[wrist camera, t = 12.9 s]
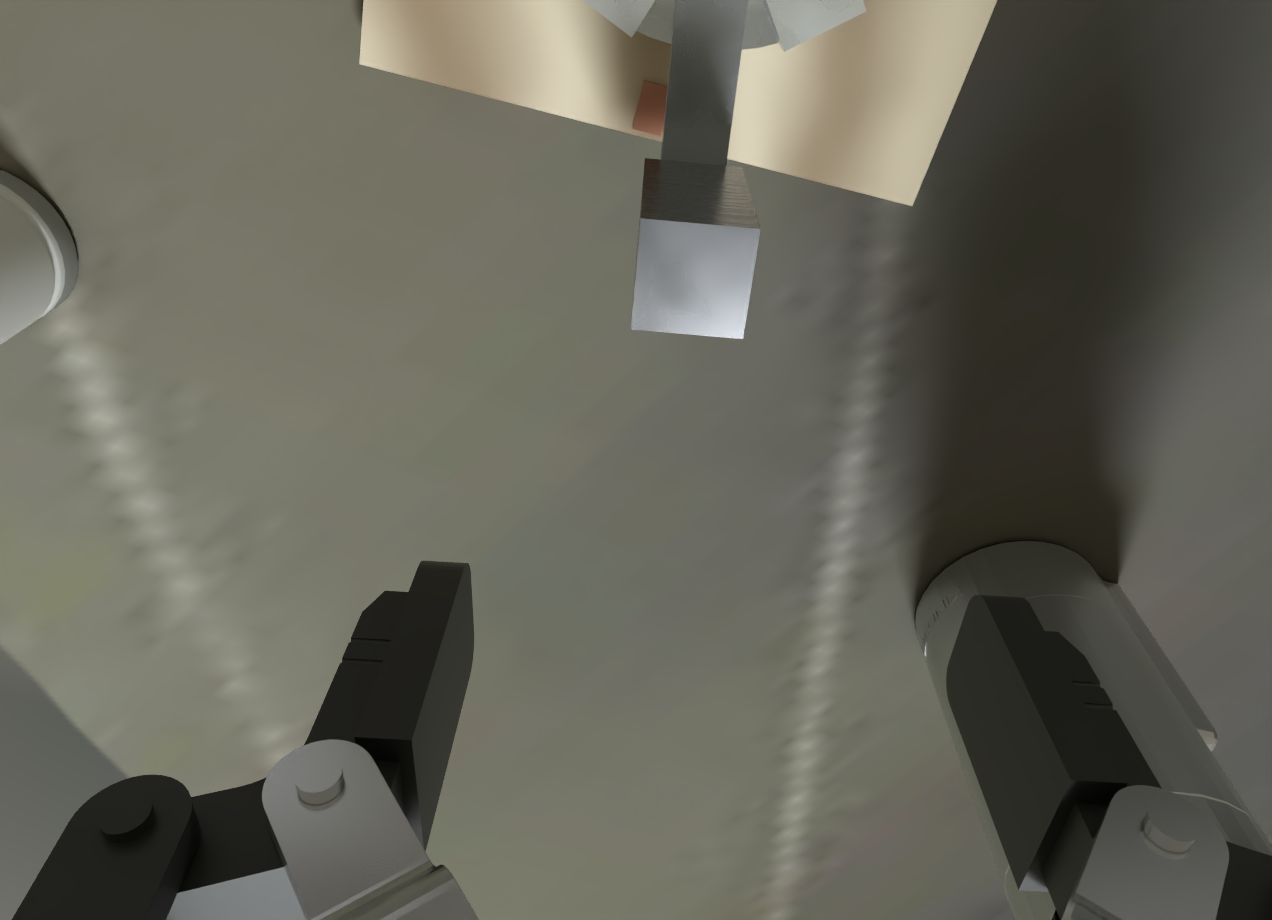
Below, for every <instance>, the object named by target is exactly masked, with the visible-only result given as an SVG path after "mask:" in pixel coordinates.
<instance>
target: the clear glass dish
mask: <svg viewBox="0 0 1272 920" xmlns="http://www.w3.org/2000/svg"><path fill="white" fill-rule="evenodd" d="M583 1H584V2H586V3H587V4H588V5H590V6H591V7H592V8H594V9H595V10H596V11H598V12H599V13H600V14H601V15H603V16H604V17H605V18H607V19H608V20H609V21H611V22H612V23H613V24H615V25H616V26H617V27H618V28H620V29H621V30H622V31H624V32H625V33H626V34H628V35H629V36H630V37H632V36H633V35H634V33H635V32H636V31H638V32H640V33H642V34H644V35H646V36H648V37H651V38H654V39H657V40H660V41H663V42H666V43H669V44H671V53H670V64H669V75H668V85H667V96H666V107H665V117H664V128H663V139H662V149H661V160H658V159H647V158H645V164H644V176H643V188H642V200H641V212H640V223H639V235H638V247H637V260H636V273H635V286H634V299H633V312H632V325H631V329H634V330H645V331H657V332H668V333H680V334H692V335H703V336H715V337H726V338H738V339H743V335H744V329H745V323H746V316H747V310H748V304H749V298H750V291H751V285H752V279H753V273H754V267H755V260H756V254H757V248H758V242H759V235H760V225H759V222H758V219H757V215H756V212H755V208H754V205H753V202H752V198H751V195H750V191H749V188H748V185H747V181H746V178H745V174H744V171H743V167H735V166H726V164H727V156H728V149H729V141H730V134H731V126H732V119H733V111H734V104H735V96H736V89H737V81H738V74H739V67H740V59H741V52H742V50H745V49H753V48H761V47H765V46H769V45H773V44H776V43H778V45H779V46H780V47H781V49H782V50H783V51H784V52H785V51H787V50H789V49H791V48H793V47H795V46H797V45H799V44H801V43H803V42H805V41H807V40H809V39H811V38H813V37H815V36H818V35H820V34H822V33H824V32H826V31H828V30H830V29H832V28H834V27H836V26H838V25H840V24H842V23H844V22H846V21H848V20H850V19H852V18H854V17H856V16H858V15H860V14H862V13H864V12H866V8H865V5H864V2H863V0H583Z"/></svg>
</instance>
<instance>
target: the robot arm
mask: <svg viewBox="0 0 1272 920" xmlns="http://www.w3.org/2000/svg"><path fill="white" fill-rule="evenodd" d="M915 626H916V632H917V637H918V640H919V643H920V646H921V649H922V652H923V654H924V657H925V660H926V663H927V666H928V669H929V672H930V675H931V678H932V681H933V684H934V686H935V689H936V693H937V696H938V699H939V702H940V705H941V708H942V711H943V713H944V716H945V719H946V722H947V725H948V728H949V731H950V734H951V737H952V739H953V742H954V745H955V748H956V751H957V754H958V757H959V760H960V763H961V765H962V768H963V771H964V774H965V777H966V780H967V783H968V786H969V789H970V791H971V794H972V797H973V800H974V803H975V806H976V809H977V812H978V815H979V817H980V820H981V823H982V826H983V829H984V832H985V835H986V838H987V841H988V843H989V846H990V849H991V852H992V855H993V858H994V861H995V864H996V867H997V869H998V872H999V875H1000V878H1001V881H1002V884H1003V887H1004V890H1005V893H1006V895H1007V898H1008V901H1009V903H1010V906H1011V909H1012V912H1013V915H1014V918H1015V920H1272V845H1271V844H1270V842H1269V841H1268V839H1267V837H1266V836H1265V834H1264V833H1263V831H1262V830H1261V828H1260V827H1259V825H1258V824H1257V823H1256V821H1255V819H1254V818H1253V816H1252V815H1251V813H1250V812H1249V810H1248V809H1247V807H1246V805H1245V804H1244V802H1243V801H1242V799H1241V798H1240V796H1239V795H1238V793H1237V791H1236V790H1235V788H1234V787H1233V785H1232V784H1231V782H1230V780H1229V779H1228V777H1227V776H1226V774H1225V773H1224V771H1223V770H1222V768H1221V766H1220V765H1219V763H1218V762H1217V760H1216V759H1215V757H1214V756H1213V754H1212V752H1211V751H1212V750H1213V749H1214V747H1215V746H1216V744H1217V740H1218V739H1217V733H1216V731H1215V729H1214V727H1213V726H1212V724H1211V723H1210V721H1209V720H1208V718H1207V717H1206V715H1205V714H1204V712H1203V711H1202V709H1201V708H1200V706H1199V705H1198V703H1197V702H1196V700H1195V699H1194V697H1193V696H1192V694H1191V693H1190V691H1189V690H1188V688H1187V687H1186V685H1185V684H1184V682H1183V681H1182V679H1181V678H1180V676H1179V675H1178V673H1177V672H1176V670H1175V669H1174V667H1173V666H1172V664H1171V663H1170V661H1169V660H1168V658H1167V657H1166V655H1165V654H1164V652H1163V651H1162V649H1161V647H1160V646H1159V644H1158V643H1157V641H1156V640H1155V638H1154V637H1153V635H1152V634H1151V632H1150V631H1149V629H1148V628H1147V626H1146V625H1145V623H1144V622H1143V620H1142V619H1141V617H1140V616H1139V614H1138V613H1137V611H1136V610H1135V608H1134V607H1133V605H1132V604H1131V602H1130V601H1129V599H1128V598H1127V596H1126V595H1125V593H1124V592H1123V590H1122V589H1121V587H1120V586H1119V585H1118V584H1115V583H1110V582H1106V581H1104V580H1102V579H1101V578H1100V577H1099V576H1098V575H1097V573H1096V572H1095V570H1094V569H1093V568H1092V566H1091V565H1090V563H1089V562H1087V561H1086V560H1085V559H1084V558H1082V557H1081V556H1080V555H1079V554H1077V553H1075V552H1073V551H1071V550H1069V549H1067V548H1064V547H1062V546H1059V545H1055V544H1050V543H1046V542H1037V541H1017V542H1008V543H1001V544H997V545H994V546H990V547H986V548H983V549H980V550H978V551H976V552H973V553H971V554H969V555H967V556H964V557H962V558H961V559H959V560H958V561H956V562H955V563H953V564H952V565H950V566H949V567H947V568H946V569H945V570H944V571H942V572H941V573H940V574H939V575H938V576H937V577H936V578H935V579H934V580H933V581H932V582H931V584H930V585H929V586H928V588H927V589H926V591H925V592H924V594H923V595H922V597H921V600H920V602H919V605H918V607H917V611H916V619H915ZM473 650H474V625H473V607H472V588H471V571H470V566H469V564H468V563H454V562H437V561H421V562H420V564H419V566H418V569H417V571H416V574H415V577H414V579H413V582H412V585H411V587H410V590H409V592H396V591H384V592H383V593H382V594H381V595H380V596H379V597H378V598H377V599H376V600H375V601H374V602H373V603H372V604H370V605H369V606H368V607H367V608H366V609H365V610H364V611H363V612H362V614H361V616H360V618H359V621H358V623H357V625H356V628H355V630H354V632H353V635H352V637H351V643H349V644H348V646H347V649H346V651H345V653H344V655H343V658H342V663H340V665H339V667H338V669H337V672H336V674H335V676H334V679H333V681H332V683H331V686H330V688H329V690H328V692H327V695H326V697H325V699H324V702H323V704H322V706H321V709H320V711H319V713H318V716H317V718H316V720H315V723H314V725H313V727H312V729H311V732H310V734H309V736H308V739H307V740H306V742H305V744H304V746H302V747H300V748H298V749H296V750H294V751H292V752H291V753H289V754H288V755H286V756H285V757H284V758H282V759H281V760H280V761H279V762H278V763H277V764H276V765H275V766H274V767H273V769H272V770H271V771H270V773H269V775H268V776H267V777H266V778H264V779H262V780H260V781H257V782H254V783H252V784H248V785H245V786H241V787H237V788H232V789H227V790H223V791H218V792H213V793H209V794H204V795H200V796H195V797H191V796H190V794H189V791H188V790H187V789H186V787H185V786H184V785H183V784H182V783H180V782H179V781H178V780H175V779H173V778H171V777H167V776H163V775H142V776H137V777H132V778H129V779H125V780H122V781H120V782H117V783H115V784H113V785H111V786H109V787H107V788H105V789H103V790H102V791H100V792H98V793H97V794H96V795H94V796H93V797H91V798H90V799H89V800H88V801H87V802H86V803H84V804H83V805H82V806H81V807H80V808H79V810H78V811H77V812H76V813H75V814H74V816H73V817H72V818H71V820H70V821H69V823H68V825H67V826H66V828H65V830H64V832H63V833H62V835H61V837H60V838H59V840H58V842H57V843H56V845H55V847H54V848H53V850H52V852H51V854H50V855H49V857H48V859H47V860H46V862H45V864H44V866H43V867H42V869H41V871H40V872H39V874H38V876H37V878H36V879H35V881H34V883H33V884H32V886H31V888H30V890H29V891H28V893H27V895H26V897H25V898H24V900H23V901H22V903H21V905H20V907H19V908H18V910H17V912H16V914H15V915H14V917H13V919H12V920H479V919H478V917H477V916H476V914H475V912H474V910H473V909H472V907H471V905H470V903H469V902H468V900H467V898H466V897H465V895H464V893H463V891H462V890H461V888H460V886H459V884H458V883H457V881H456V880H455V878H454V876H453V875H452V874H451V872H450V871H449V870H448V869H447V868H446V867H445V866H444V865H439V866H437V867H435V866H434V865H433V864H432V862H431V861H430V859H429V858H428V856H427V854H426V852H425V851H426V847H427V843H428V839H429V835H430V831H431V827H432V824H433V820H434V816H435V812H436V808H437V804H438V800H439V796H440V792H441V788H442V784H443V780H444V776H445V772H446V768H447V764H448V760H449V756H450V752H451V748H452V744H453V740H454V736H455V732H456V728H457V725H458V721H459V717H460V713H461V709H462V705H463V701H464V697H465V693H466V689H467V685H468V681H469V677H470V673H471V667H472V660H473Z"/></svg>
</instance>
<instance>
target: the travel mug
mask: <svg viewBox="0 0 1272 920" xmlns="http://www.w3.org/2000/svg"><path fill="white" fill-rule="evenodd" d="M77 275H78V259H77V253H76V247H75V245H74V242H73V239H72V236H71V234H70V232H69V230H68V228H67V226H66V225H65V223H64V221H63V219H62V218H61V217H60V215H59V214H58V213H57V211H56V210H55V209H54V208H53V206H52V205H51V204H50V203H49V202H48V201H47V200H46V199H45V198H44V197H43V196H42V195H41V194H40V193H39V192H37V191H36V190H35V189H33V188H32V187H31V186H29V185H28V184H26V183H25V182H24V181H22V180H20V179H18V178H16V177H15V176H13V175H11V174H9V173H7V172H5V171H2V170H0V345H1V344H2V343H4V342H5V341H7V340H8V339H10V338H11V337H13V336H14V335H16V334H17V333H18V332H20V331H21V330H23V329H24V328H26V327H27V326H29V325H30V324H32V323H33V322H35V321H36V320H37V319H38V318H41V317H42V316H44V315H45V314H47V313H48V312H50V311H51V310H53V309H54V308H56V307H57V306H59V305H60V304H61V303H62V302H63V301H65V300H66V299H67V298H68V296H69V295H70V293H71V292H72V290H73V289H74V286H75V283H76V280H77Z"/></svg>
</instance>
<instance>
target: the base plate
mask: <svg viewBox="0 0 1272 920" xmlns="http://www.w3.org/2000/svg"><path fill="white" fill-rule="evenodd" d="M863 2H864V5H865V8H866V12H864V13H862V14H860V15H858V16H856V17H854V18H852V19H850V20H848V21H846V22H844V23H842V24H840V25H838V26H836V27H834V28H832V29H830V30H828V31H826V32H824V33H822V34H820V35H818V36H815V37H813V38H811V39H809V40H807V41H805V42H803V43H801V44H799V45H797V46H795V47H793V48H791V49H789V50H787V51H785V52H784V51H783V50H782V49H781V47H780V46H779V45H778V43H776V44H773V45H769V46H765V47H761V48H753V49H745V50H742V52H741V59H740V67H739V74H738V81H737V89H736V96H735V104H734V111H733V119H732V126H731V134H730V141H729V149H728V156H727V159H731V160H735V161H738V162H742V163H746V164H750V165H754V166H758V167H762V168H766V169H770V170H773V171H777V172H781V173H785V174H789V175H793V176H797V177H801V178H805V179H808V180H812V181H816V182H820V183H824V184H828V185H832V186H836V187H840V188H843V189H847V190H851V191H855V192H859V193H863V194H867V195H871V196H875V197H878V198H882V199H886V200H890V201H894V202H898V203H902V204H906V205H910V206H913V203H914V201H915V198H916V196H917V193H918V191H919V189H920V186H921V184H922V181H923V179H924V177H925V174H926V172H927V169H928V167H929V164H930V162H931V160H932V157H933V155H934V152H935V150H936V148H937V145H938V143H939V140H940V138H941V135H942V133H943V131H944V128H945V126H946V123H947V121H948V118H949V116H950V114H951V111H952V109H953V106H954V104H955V102H956V99H957V97H958V94H959V92H960V89H961V87H962V85H963V82H964V80H965V77H966V75H967V73H968V70H969V68H970V65H971V63H972V60H973V58H974V56H975V53H976V51H977V48H978V46H979V44H980V41H981V39H982V36H983V34H984V31H985V29H986V27H987V24H988V22H989V19H990V17H991V14H992V12H993V10H994V7H995V5H996V2H997V0H863ZM670 53H671V44H669V43H666V42H663V41H660V40H657V39H654V38H651V37H648V36H646V35H644V34H642V33H640V32H638V31H636V32H635V33H634V35H633V36H632V37H630V36H629V35H628V34H626V33H625V32H624V31H622V30H621V29H620V28H618V27H617V26H616V25H615V24H613V23H612V22H611V21H609V20H608V19H607V18H605V17H604V16H603V15H601V14H600V13H599V12H598V11H596V10H595V9H594V8H592V7H591V6H590V5H588V4H587V3H586V2H584V1H583V0H364V2H363V17H362V33H361V49H360V64H361V65H365V66H369V67H373V68H377V69H381V70H384V71H388V72H392V73H396V74H400V75H404V76H408V77H412V78H416V79H419V80H423V81H427V82H431V83H435V84H439V85H443V86H447V87H451V88H454V89H458V90H462V91H466V92H470V93H474V94H478V95H482V96H486V97H489V98H493V99H497V100H501V101H505V102H509V103H513V104H517V105H521V106H524V107H528V108H532V109H536V110H540V111H544V112H548V113H552V114H556V115H559V116H563V117H567V118H571V119H575V120H579V121H583V122H587V123H591V124H594V125H598V126H602V127H606V128H610V129H614V130H618V131H622V132H626V133H629V134H633V135H637V136H641V137H645V138H649V139H653V140H657V141H661V142H662V139H663V128H664V117H665V107H666V96H667V85H668V75H669V64H670Z"/></svg>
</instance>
